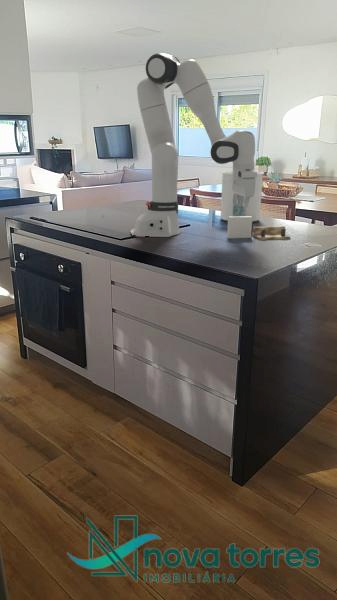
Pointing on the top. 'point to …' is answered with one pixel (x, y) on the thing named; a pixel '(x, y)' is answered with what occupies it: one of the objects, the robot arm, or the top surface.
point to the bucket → (228, 195)
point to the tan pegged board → (270, 233)
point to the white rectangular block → (239, 227)
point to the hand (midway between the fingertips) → (242, 205)
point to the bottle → (238, 207)
